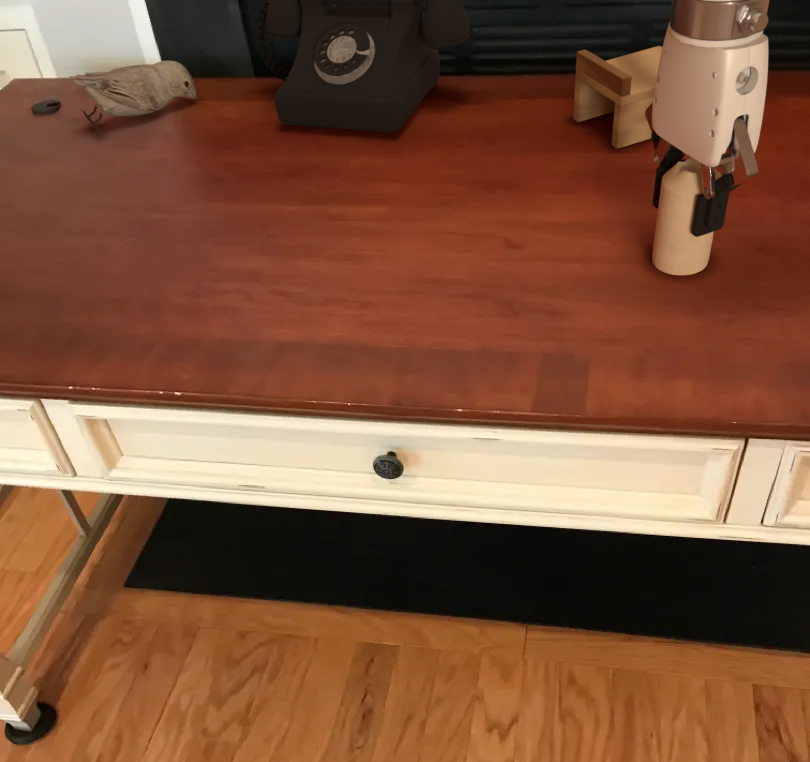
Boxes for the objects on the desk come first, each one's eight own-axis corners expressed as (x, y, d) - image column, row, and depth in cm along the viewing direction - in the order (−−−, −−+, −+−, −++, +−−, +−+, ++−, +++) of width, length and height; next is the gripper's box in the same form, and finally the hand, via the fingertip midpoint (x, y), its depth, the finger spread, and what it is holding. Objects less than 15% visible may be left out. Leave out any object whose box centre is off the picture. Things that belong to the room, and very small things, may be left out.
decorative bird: (204, 106, 126) (190, 50, 121) (94, 140, 122) (74, 83, 117) (191, 94, 130) (177, 39, 124) (84, 127, 125) (64, 71, 120)
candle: (697, 281, 88) (714, 183, 80) (643, 268, 90) (654, 172, 82) (716, 253, 91) (734, 156, 83) (663, 242, 93) (676, 146, 85)
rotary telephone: (481, 85, 123) (478, -40, 112) (440, 143, 112) (432, 11, 101) (283, 74, 132) (262, -43, 121) (228, 126, 121) (199, 3, 110)
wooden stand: (654, 95, 116) (661, 27, 110) (701, 123, 110) (712, 53, 104) (573, 118, 114) (576, 51, 108) (616, 149, 107) (622, 79, 101)
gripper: (829, 32, 69) (777, 246, 82) (693, -26, 80) (667, 171, 93) (748, 55, 67) (708, 270, 80) (620, -7, 78) (604, 191, 91)
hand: (686, 215), depth 87 cm, fingers closed on candle, 5 cm apart
